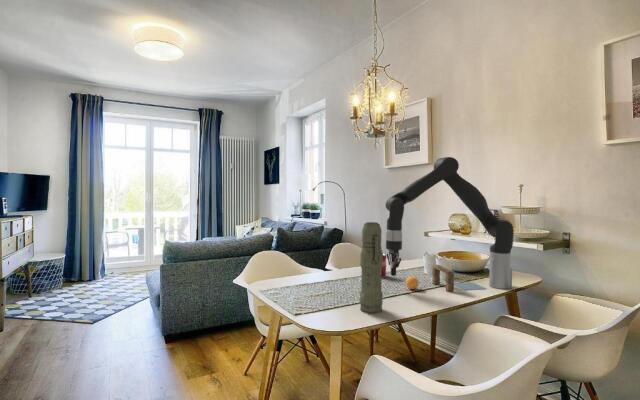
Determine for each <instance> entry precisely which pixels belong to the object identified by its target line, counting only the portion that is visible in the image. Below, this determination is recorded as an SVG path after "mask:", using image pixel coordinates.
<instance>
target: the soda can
mask: <svg viewBox="0 0 640 400" xmlns="http://www.w3.org/2000/svg"><path fill="white" fill-rule="evenodd" d="M386 276H387V254H385V253H383V267H382V269H381V279H382V278H386Z"/></svg>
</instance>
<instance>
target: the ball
mask: <svg viewBox="0 0 640 400" xmlns="http://www.w3.org/2000/svg"><path fill="white" fill-rule="evenodd" d="M405 285H406V287H407V288H408V289H409V290H416V289H417V288H418V287H419V285H420V284H419V280H418V278H417V277H415V276H408V277H407V278H406V281H405Z"/></svg>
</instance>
